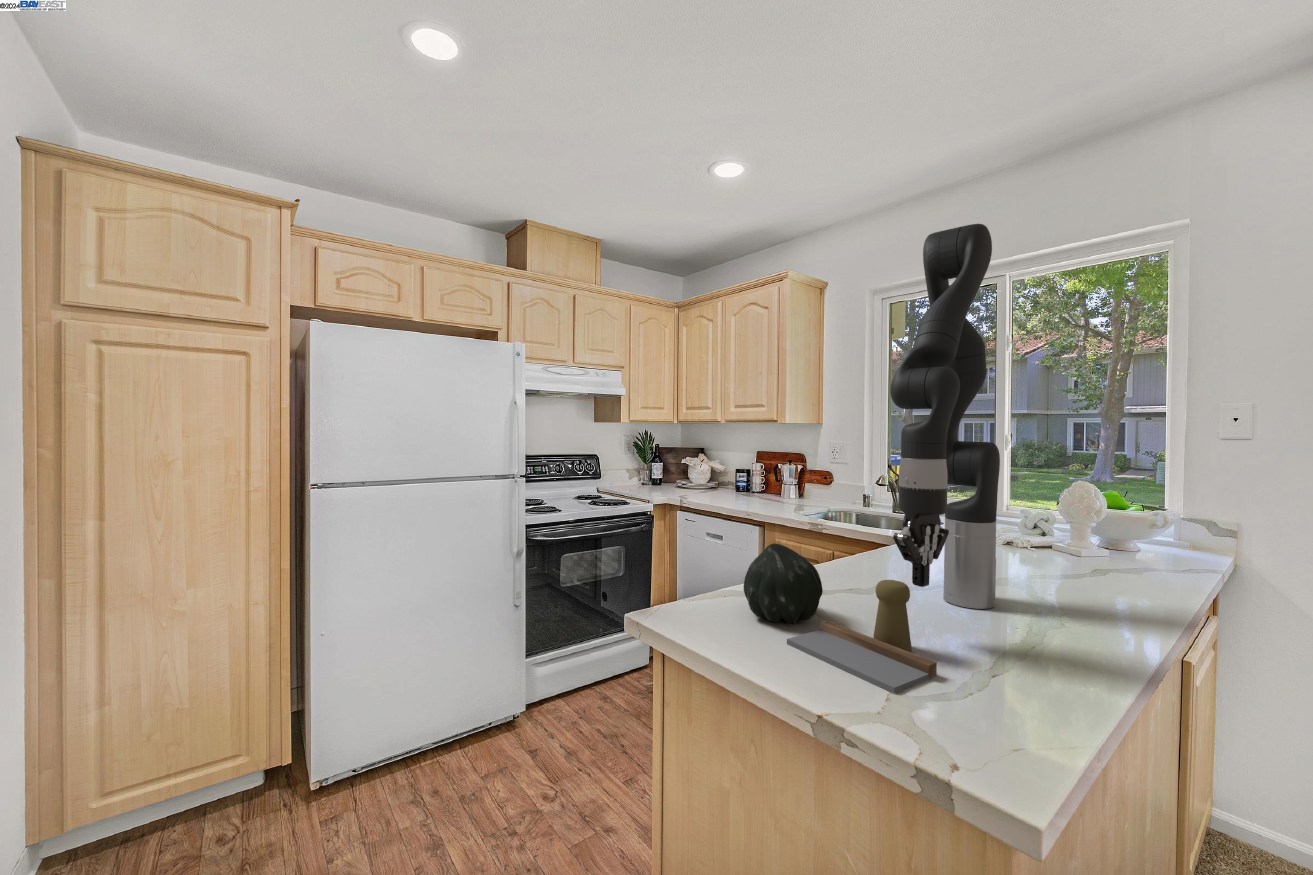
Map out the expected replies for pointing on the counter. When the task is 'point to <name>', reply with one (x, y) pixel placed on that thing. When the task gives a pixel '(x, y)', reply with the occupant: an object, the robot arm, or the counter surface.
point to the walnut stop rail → (881, 648)
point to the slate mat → (859, 661)
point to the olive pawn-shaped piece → (893, 614)
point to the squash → (782, 585)
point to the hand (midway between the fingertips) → (920, 585)
